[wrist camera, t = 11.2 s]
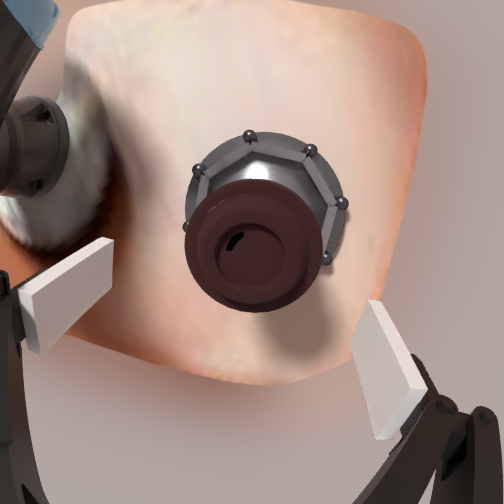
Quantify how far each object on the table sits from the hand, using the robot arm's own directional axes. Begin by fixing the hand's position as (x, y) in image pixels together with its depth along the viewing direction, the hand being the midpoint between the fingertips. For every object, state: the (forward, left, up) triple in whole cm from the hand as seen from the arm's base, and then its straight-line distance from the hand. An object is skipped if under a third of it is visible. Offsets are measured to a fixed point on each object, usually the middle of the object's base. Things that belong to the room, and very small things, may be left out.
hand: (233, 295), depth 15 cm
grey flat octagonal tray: (0, 0, -22) cm, 22 cm away
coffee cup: (0, 0, -21) cm, 21 cm away
